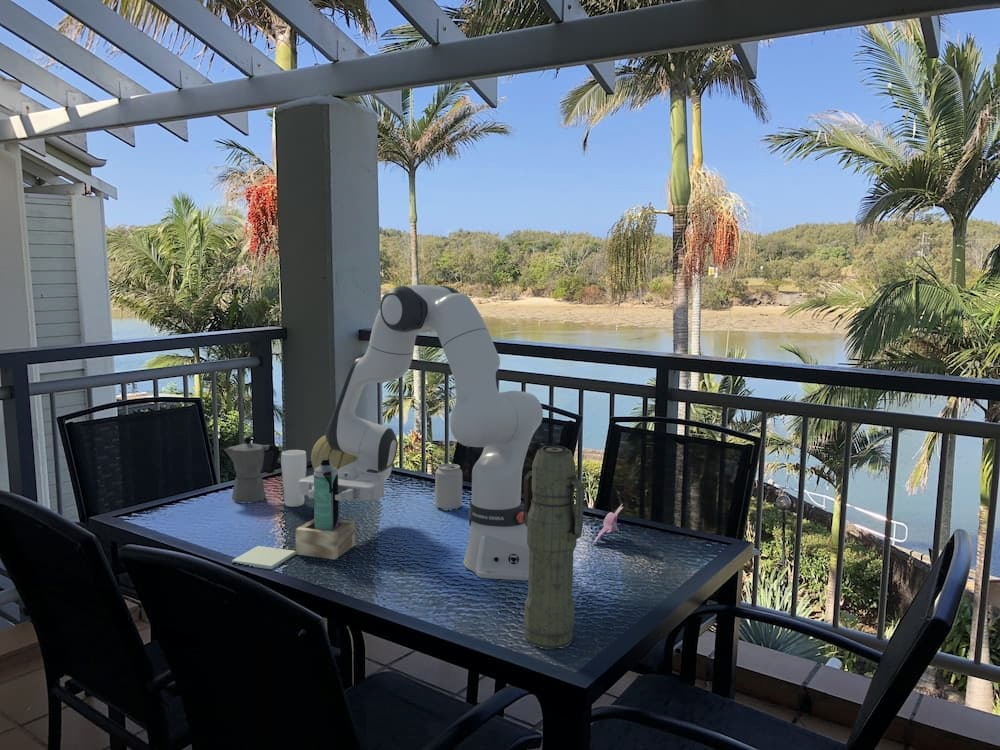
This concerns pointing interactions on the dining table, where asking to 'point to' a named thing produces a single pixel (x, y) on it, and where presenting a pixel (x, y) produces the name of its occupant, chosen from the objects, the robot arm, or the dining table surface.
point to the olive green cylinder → (551, 545)
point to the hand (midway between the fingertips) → (324, 496)
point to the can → (448, 486)
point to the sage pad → (264, 557)
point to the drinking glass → (293, 476)
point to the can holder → (325, 540)
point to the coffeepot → (250, 470)
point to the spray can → (326, 496)
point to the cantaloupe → (329, 455)
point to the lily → (610, 523)
